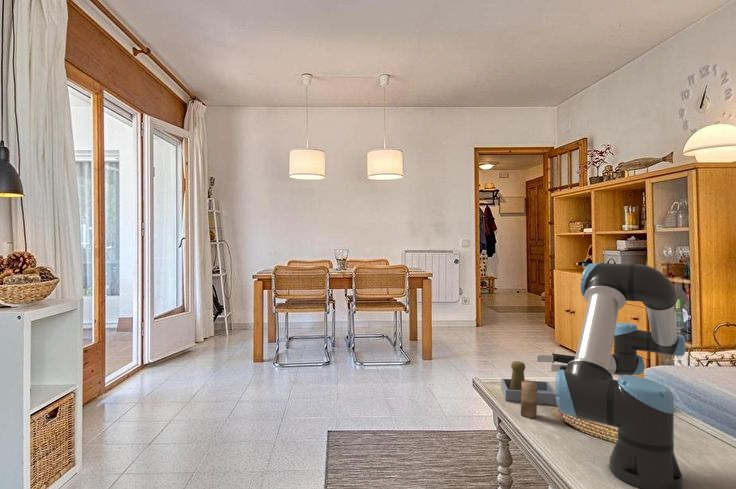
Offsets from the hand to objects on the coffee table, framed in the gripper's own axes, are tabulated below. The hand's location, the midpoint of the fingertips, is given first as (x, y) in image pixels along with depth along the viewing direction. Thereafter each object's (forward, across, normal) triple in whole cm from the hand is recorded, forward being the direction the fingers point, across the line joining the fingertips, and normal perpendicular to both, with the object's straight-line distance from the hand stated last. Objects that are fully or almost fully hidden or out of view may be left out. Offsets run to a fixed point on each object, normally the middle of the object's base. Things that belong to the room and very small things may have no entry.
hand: (543, 362), depth 161 cm
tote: (+6, 0, -13) cm, 14 cm away
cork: (+8, +4, -12) cm, 15 cm away
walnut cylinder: (+12, -20, -13) cm, 26 cm away
